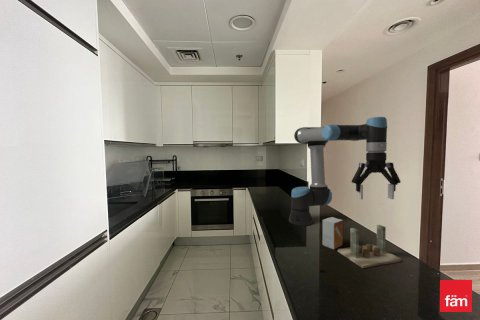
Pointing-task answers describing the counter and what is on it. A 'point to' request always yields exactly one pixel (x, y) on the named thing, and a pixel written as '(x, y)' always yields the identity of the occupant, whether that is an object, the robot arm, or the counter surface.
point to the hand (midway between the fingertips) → (375, 198)
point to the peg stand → (368, 250)
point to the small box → (332, 232)
